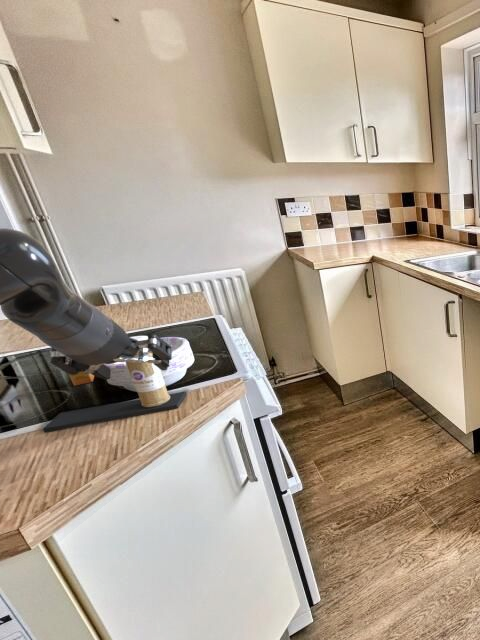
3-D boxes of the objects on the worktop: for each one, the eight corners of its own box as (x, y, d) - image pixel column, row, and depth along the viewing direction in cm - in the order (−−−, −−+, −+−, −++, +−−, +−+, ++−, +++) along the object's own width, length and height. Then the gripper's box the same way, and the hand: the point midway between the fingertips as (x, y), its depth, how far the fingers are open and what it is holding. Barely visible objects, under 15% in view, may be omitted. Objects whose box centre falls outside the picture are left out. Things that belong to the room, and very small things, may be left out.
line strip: (44, 432, 75) (42, 428, 75) (61, 416, 80) (60, 412, 80) (178, 408, 82) (176, 404, 82) (186, 394, 87) (185, 391, 87)
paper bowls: (98, 405, 84) (81, 369, 81) (129, 374, 97) (116, 342, 94) (188, 390, 89) (176, 356, 86) (206, 362, 102) (196, 332, 99)
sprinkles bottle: (138, 410, 80) (111, 345, 75) (147, 399, 84) (122, 337, 79) (167, 405, 82) (142, 341, 77) (174, 394, 86) (151, 333, 81)
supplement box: (72, 386, 92) (53, 344, 88) (75, 381, 94) (56, 339, 91) (93, 382, 94) (74, 340, 90) (95, 377, 96) (77, 336, 92)
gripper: (139, 303, 67) (182, 345, 81) (20, 316, 62) (88, 358, 76) (139, 345, 65) (183, 381, 79) (15, 363, 60) (86, 397, 74)
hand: (137, 370), depth 77 cm, fingers open, 8 cm apart
